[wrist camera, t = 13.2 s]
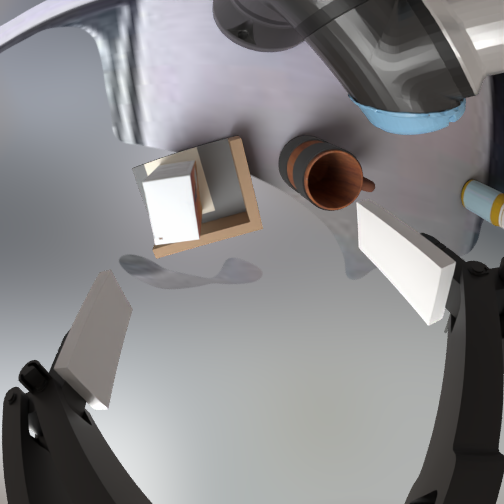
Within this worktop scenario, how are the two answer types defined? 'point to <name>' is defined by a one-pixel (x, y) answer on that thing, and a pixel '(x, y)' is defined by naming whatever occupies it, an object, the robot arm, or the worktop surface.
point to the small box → (174, 202)
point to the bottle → (484, 202)
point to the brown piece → (213, 192)
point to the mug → (322, 172)
